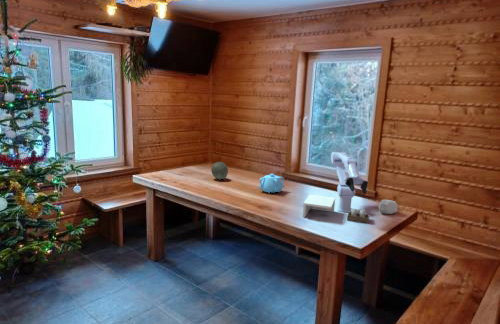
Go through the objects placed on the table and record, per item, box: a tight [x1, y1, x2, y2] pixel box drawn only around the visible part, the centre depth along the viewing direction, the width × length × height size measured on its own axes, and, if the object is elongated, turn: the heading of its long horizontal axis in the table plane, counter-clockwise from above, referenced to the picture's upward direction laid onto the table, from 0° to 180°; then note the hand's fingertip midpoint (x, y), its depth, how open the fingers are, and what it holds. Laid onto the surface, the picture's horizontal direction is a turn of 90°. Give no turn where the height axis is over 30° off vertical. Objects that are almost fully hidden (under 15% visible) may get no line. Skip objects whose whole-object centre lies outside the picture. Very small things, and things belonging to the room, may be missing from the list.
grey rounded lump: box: [378, 199, 399, 215], centre depth 219 cm, size 9×11×15 cm
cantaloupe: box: [210, 161, 229, 181], centre depth 289 cm, size 14×14×15 cm
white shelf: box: [302, 194, 336, 218], centre depth 211 cm, size 20×16×9 cm
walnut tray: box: [346, 208, 370, 224], centre depth 204 cm, size 8×12×6 cm, turn 70°
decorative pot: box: [258, 173, 285, 194], centre depth 258 cm, size 16×16×14 cm
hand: (359, 191), depth 196 cm, fingers open, 7 cm apart
